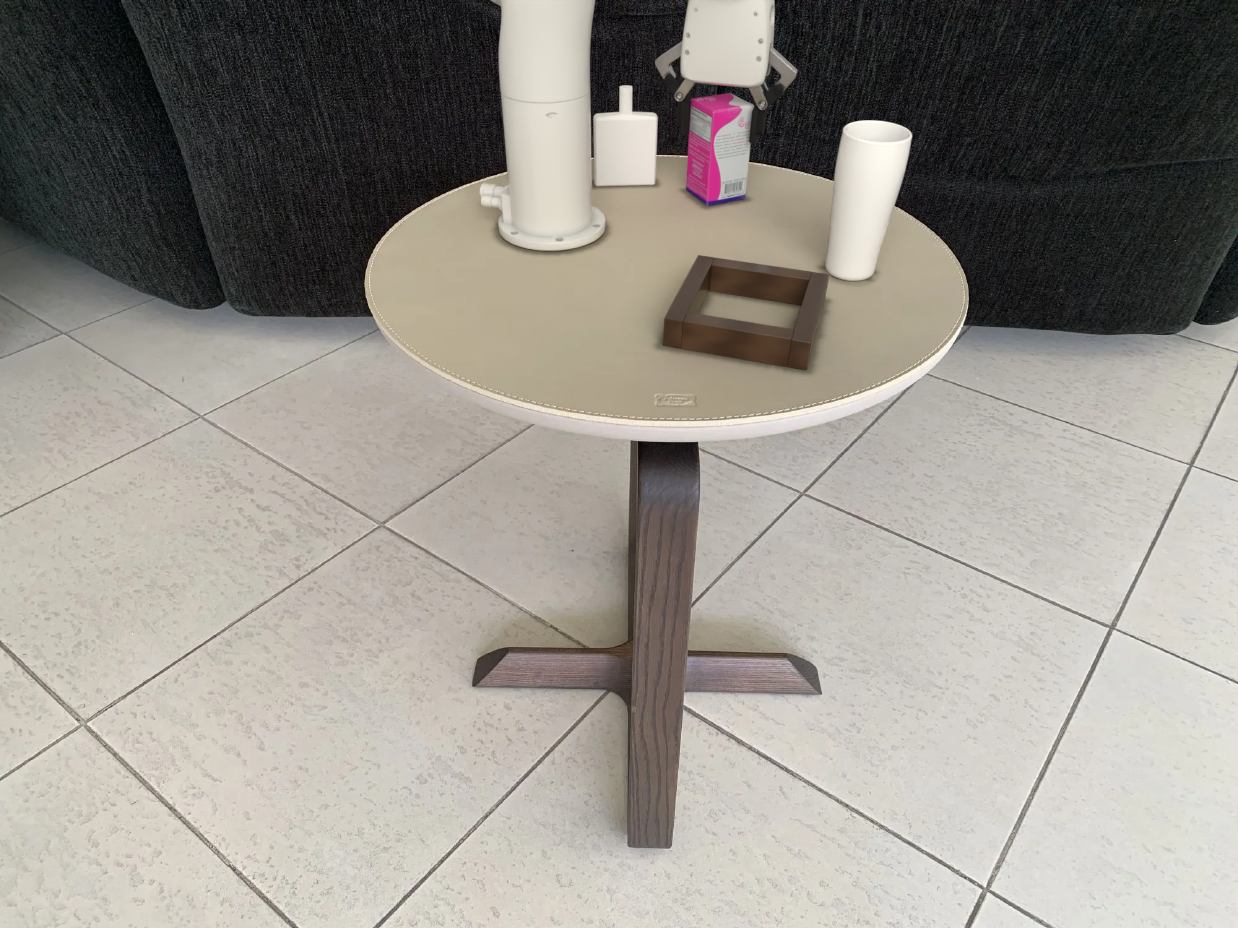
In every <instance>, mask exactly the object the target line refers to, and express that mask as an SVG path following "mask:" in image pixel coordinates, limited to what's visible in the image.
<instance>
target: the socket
mask: <svg viewBox="0 0 1238 928" xmlns="http://www.w3.org/2000/svg"><path fill="white" fill-rule="evenodd" d="M829 280H830V273H824V272H816V271H809V270H803V269H797V268H790V267H783V266H775V265H771V264H763V263H762V264H761V263H755V262H749V261H741V260H734V259H729V258H721V257H715V256H707V255H701V254H698V255H697V257H696V258H695V260H694V262H693V264H692V266H691V268H690V269H689V271H688V273H687V275H686V277H685V279H684V281H683V282H682V285H681V286H680V288H679V290H678V292H677V294H676V296H675V297H674V299H673V301H672V303H671V305H670V306H669V308H668V310H667V312H666V314H665V316H664V318H663V334H662V335H663V336H662V337H663V338H662V346H663V347H669V348H675V349H680V350H687V351H693V352H698V353H703V354H710V355H715V356H722V357H727V358H732V359H739V360H744V361H750V362H755V363H762V364H768V365H774V366H778V367H785V368H791V369H797V370H804V371H807V370H808V368H809V367H808V366H809V363H810V359H811V355H812V351H813V347H814V344H815V339H816V336H817V331H818V328H819V325H820V320H821V317H822V312H823V309H824V305H825V300H826V296H827V290H828V285H829ZM709 292H713V293H720V294H728V295H735V296H741V297H745V298H746V297H747V298H752V299H757V300H758V299H760V300H766V301H772V302H777V303H778V302H779V303H785V304H792V305H797V306H800V309H799V313H798V317H797V319H796V323H795V326H794V328H789V327H783V326H776V325H769V324H764V323H757V322H753V321H752V322H751V321H747V320H746V321H745V320H739V319H734V318H727V317H720V316H714V315H709V314H703V313H700V311H701V308H702V307H703V304H704V302H705V300H706V298H707V296H708V294H709Z"/></svg>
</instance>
